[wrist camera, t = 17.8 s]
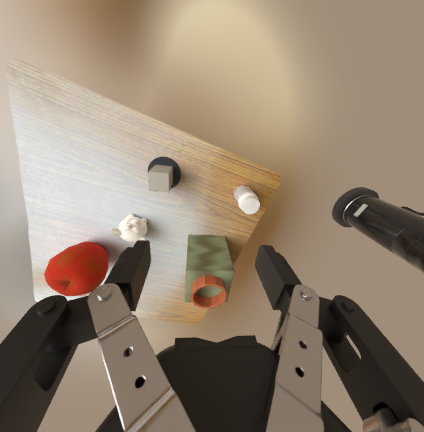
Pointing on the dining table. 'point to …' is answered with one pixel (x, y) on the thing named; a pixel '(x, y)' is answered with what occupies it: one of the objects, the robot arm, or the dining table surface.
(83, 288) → the apple
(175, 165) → the coaster
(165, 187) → the block
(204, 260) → the stand
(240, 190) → the pill bottle
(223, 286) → the segmented terracotta ring
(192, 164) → the dining table surface
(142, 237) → the figurine
